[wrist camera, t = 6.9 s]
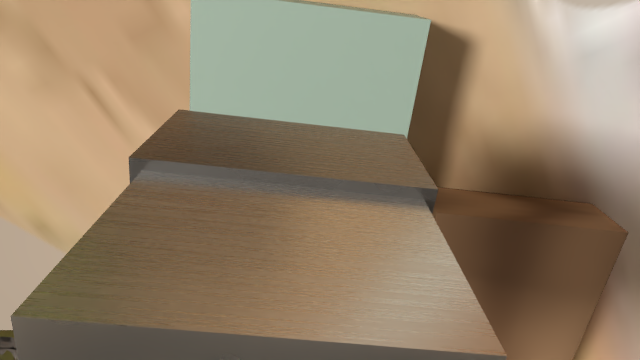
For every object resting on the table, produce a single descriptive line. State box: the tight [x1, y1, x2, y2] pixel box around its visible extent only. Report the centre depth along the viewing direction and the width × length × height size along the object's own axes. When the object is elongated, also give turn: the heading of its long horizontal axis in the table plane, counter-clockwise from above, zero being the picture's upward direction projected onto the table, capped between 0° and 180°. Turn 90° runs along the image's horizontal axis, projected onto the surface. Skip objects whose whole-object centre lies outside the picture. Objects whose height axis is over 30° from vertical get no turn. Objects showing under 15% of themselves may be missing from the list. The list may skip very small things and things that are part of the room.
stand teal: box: [190, 0, 431, 139], centre depth 21 cm, size 9×11×3 cm
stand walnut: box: [432, 187, 628, 360], centre depth 24 cm, size 9×11×3 cm
